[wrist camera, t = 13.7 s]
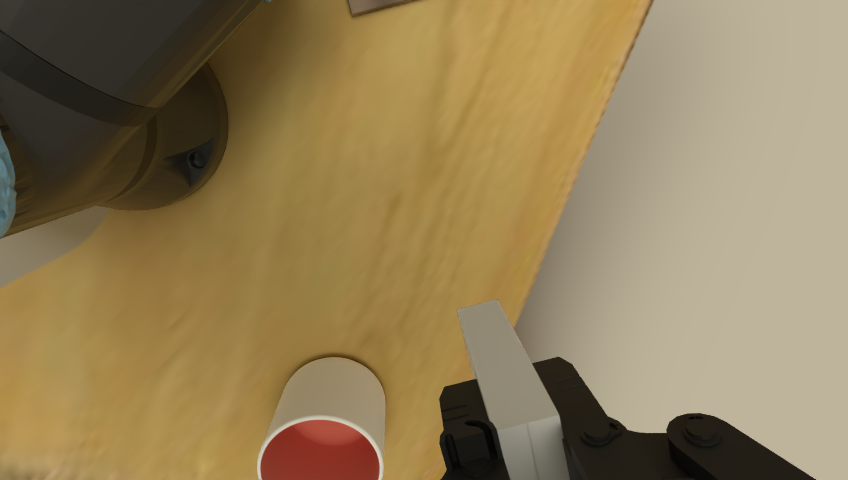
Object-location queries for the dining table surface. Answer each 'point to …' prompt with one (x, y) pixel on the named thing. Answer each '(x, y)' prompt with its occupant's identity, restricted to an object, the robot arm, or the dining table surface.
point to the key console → (372, 5)
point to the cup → (327, 425)
